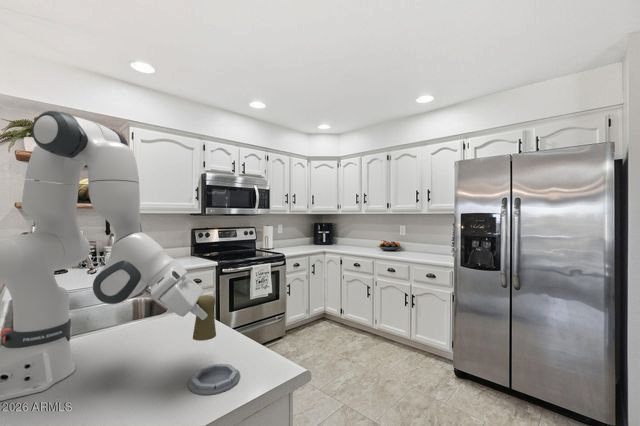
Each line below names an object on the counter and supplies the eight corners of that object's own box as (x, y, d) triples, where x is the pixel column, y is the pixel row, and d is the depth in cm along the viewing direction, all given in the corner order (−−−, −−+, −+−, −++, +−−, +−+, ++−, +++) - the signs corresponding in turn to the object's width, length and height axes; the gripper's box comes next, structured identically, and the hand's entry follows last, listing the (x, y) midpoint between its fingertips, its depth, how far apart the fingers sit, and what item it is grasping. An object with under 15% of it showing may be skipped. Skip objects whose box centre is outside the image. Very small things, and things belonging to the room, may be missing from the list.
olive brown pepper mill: (208, 341, 78) (209, 298, 78) (187, 339, 79) (189, 297, 79) (220, 333, 84) (221, 294, 84) (200, 331, 85) (202, 293, 85)
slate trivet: (199, 402, 70) (199, 395, 70) (181, 379, 79) (181, 373, 79) (248, 381, 79) (248, 375, 79) (226, 363, 88) (226, 357, 88)
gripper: (170, 281, 89) (203, 312, 91) (148, 296, 69) (191, 336, 71) (186, 266, 91) (219, 297, 92) (169, 277, 71) (211, 316, 72)
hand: (207, 314), depth 82 cm, fingers closed on olive brown pepper mill, 4 cm apart
